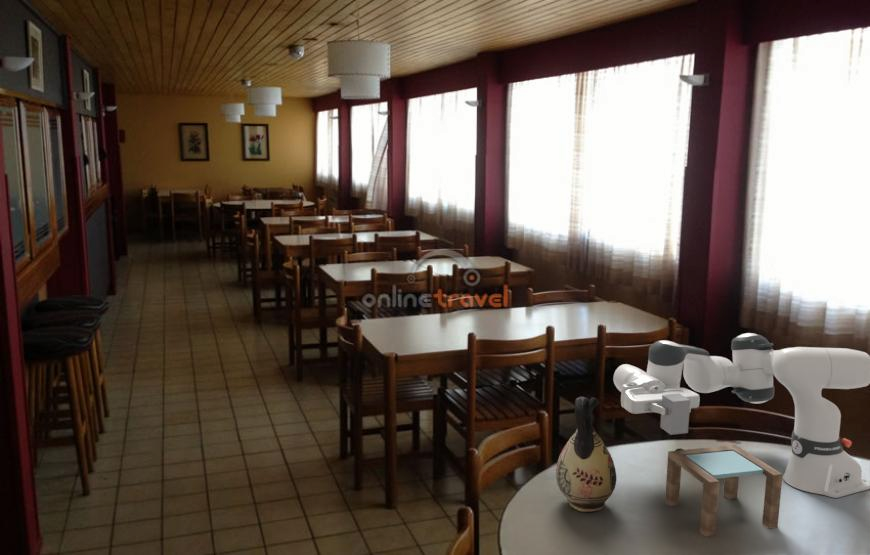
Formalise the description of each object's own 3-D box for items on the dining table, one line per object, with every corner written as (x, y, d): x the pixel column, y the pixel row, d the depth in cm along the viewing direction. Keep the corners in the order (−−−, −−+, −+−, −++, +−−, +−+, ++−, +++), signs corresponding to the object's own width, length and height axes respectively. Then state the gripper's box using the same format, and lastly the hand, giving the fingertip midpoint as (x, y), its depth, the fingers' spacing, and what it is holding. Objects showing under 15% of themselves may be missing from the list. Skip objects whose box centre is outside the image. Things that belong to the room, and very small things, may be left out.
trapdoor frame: (731, 493, 198) (735, 444, 196) (777, 527, 181) (782, 474, 178) (664, 501, 194) (668, 451, 191) (705, 536, 176) (709, 482, 174)
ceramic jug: (565, 486, 202) (569, 381, 197) (621, 498, 195) (626, 390, 190) (544, 512, 188) (548, 400, 182) (604, 526, 180) (610, 411, 175)
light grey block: (677, 425, 195) (679, 393, 193) (687, 432, 190) (690, 400, 188) (660, 427, 193) (662, 394, 192) (670, 434, 189) (672, 401, 187)
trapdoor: (732, 454, 192) (733, 450, 192) (762, 473, 181) (763, 469, 181) (685, 459, 189) (685, 455, 189) (712, 479, 178) (713, 475, 178)
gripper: (682, 400, 206) (711, 419, 193) (615, 407, 201) (641, 426, 188) (683, 379, 205) (713, 396, 191) (617, 385, 200) (642, 403, 187)
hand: (677, 411), depth 190 cm, fingers closed on light grey block, 5 cm apart
